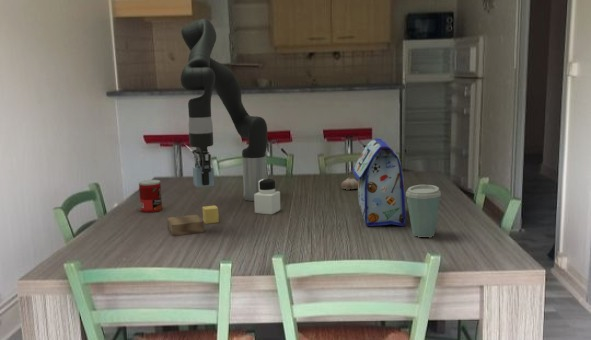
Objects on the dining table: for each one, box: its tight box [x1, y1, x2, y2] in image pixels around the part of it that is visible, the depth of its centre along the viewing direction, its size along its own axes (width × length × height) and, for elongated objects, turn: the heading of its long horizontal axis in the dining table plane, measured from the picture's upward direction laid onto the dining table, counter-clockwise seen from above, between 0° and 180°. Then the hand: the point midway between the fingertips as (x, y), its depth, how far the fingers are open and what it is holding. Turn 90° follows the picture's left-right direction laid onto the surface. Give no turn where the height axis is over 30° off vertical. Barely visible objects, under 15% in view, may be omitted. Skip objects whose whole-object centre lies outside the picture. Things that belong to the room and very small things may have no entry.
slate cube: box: [192, 167, 215, 188], centre depth 182 cm, size 6×6×6 cm
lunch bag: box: [352, 137, 407, 227], centre depth 192 cm, size 23×17×27 cm
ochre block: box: [202, 205, 220, 225], centre depth 195 cm, size 4×4×5 cm
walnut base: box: [166, 214, 205, 237], centre depth 185 cm, size 10×10×4 cm
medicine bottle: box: [253, 178, 281, 216], centre depth 206 cm, size 7×7×12 cm
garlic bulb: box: [340, 170, 358, 191], centre depth 241 cm, size 8×7×8 cm
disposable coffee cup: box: [405, 184, 442, 238], centre depth 172 cm, size 11×11×15 cm
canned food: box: [138, 179, 163, 213], centre depth 213 cm, size 8×8×11 cm
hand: (203, 183), depth 183 cm, fingers closed on slate cube, 5 cm apart
